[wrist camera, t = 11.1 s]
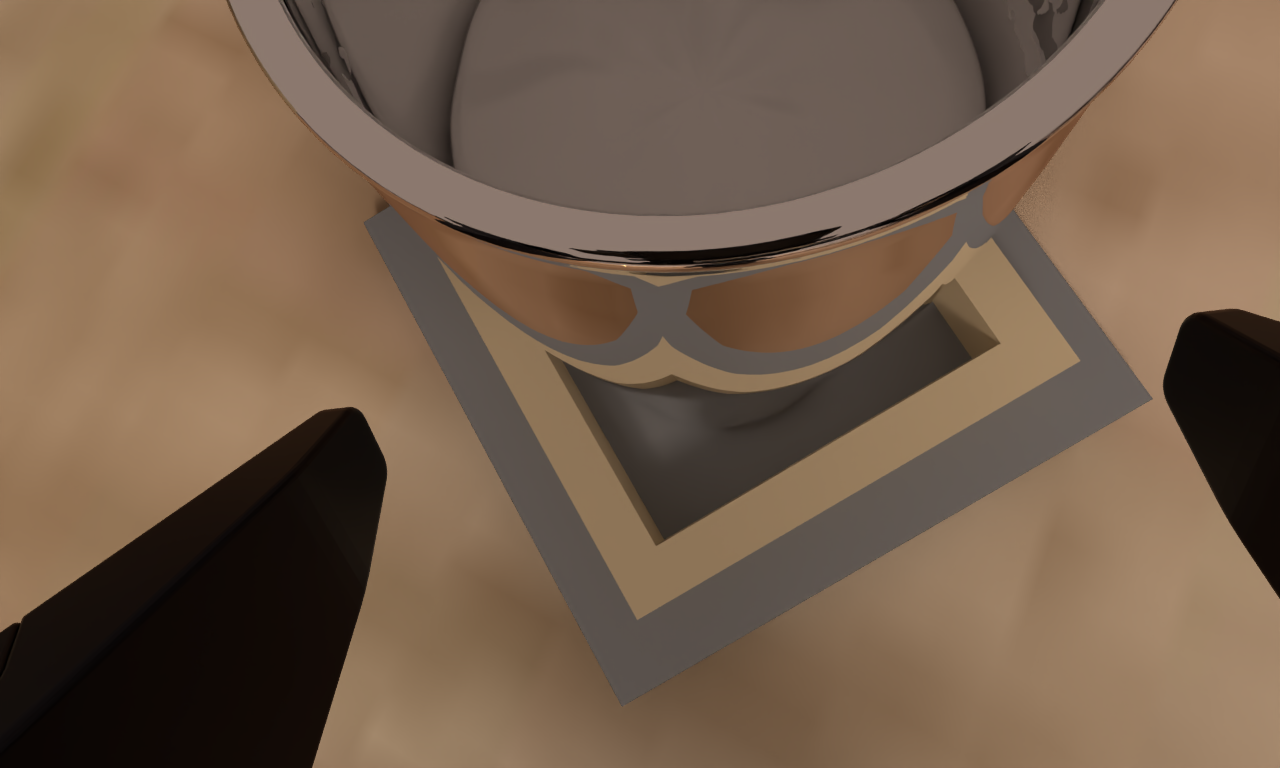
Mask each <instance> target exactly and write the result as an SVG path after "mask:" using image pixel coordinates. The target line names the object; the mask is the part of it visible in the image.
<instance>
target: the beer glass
mask: <svg viewBox="0 0 1280 768" xmlns="http://www.w3.org/2000/svg"><path fill="white" fill-rule="evenodd" d="M226 1H227V4H228V7H229V9H230V11H231V14H232V16H233V18H234V20H235V22H236V25H237V27H238V29H239V31H240V33H241V35H242V37H243V39H244V40H245V42H246V44H247V46H248V48H249V50H250V51H251V53H252V55H253V56H254V58H255V60H256V61H257V63H258V65H259V66H260V68H261V70H262V71H263V72H264V74H265V75H266V77H267V78H268V80H269V81H270V83H271V84H272V86H273V87H274V89H275V90H276V91H277V93H278V94H279V95H280V97H281V98H282V99H283V101H284V102H285V103H286V105H287V106H288V107H289V108H290V109H291V110H292V112H293V113H294V114H295V115H296V116H297V117H298V119H299V120H300V121H301V122H302V123H303V124H304V125H305V126H306V127H307V128H308V130H309V131H310V132H311V133H312V134H313V135H314V136H315V137H316V138H317V139H318V140H319V141H320V142H321V143H322V144H323V145H324V146H325V147H326V148H328V149H329V150H330V151H331V152H332V153H333V154H334V155H335V156H336V157H338V158H339V159H340V160H341V161H342V162H344V163H345V164H346V165H347V166H348V167H349V168H351V169H352V170H353V171H355V172H356V173H357V174H359V175H360V176H361V177H363V178H364V179H365V180H367V181H368V182H369V183H370V184H371V185H372V186H373V188H374V189H375V190H376V191H377V192H378V193H379V194H380V195H381V196H382V198H383V199H384V200H385V201H386V202H387V203H388V204H389V205H390V207H391V208H392V209H393V210H394V211H395V212H396V213H397V214H398V215H399V217H400V218H401V219H402V220H403V221H404V222H405V223H406V224H407V226H408V227H409V228H410V229H411V230H412V231H413V232H414V233H415V234H416V235H417V236H418V237H419V238H420V239H421V240H422V241H423V242H424V243H425V244H426V245H427V247H428V248H429V249H430V250H431V251H432V252H433V253H434V254H435V255H436V256H437V257H438V258H439V259H440V260H441V261H442V262H443V263H444V264H445V265H446V266H447V267H448V268H449V269H450V270H451V271H452V272H453V273H454V274H455V275H456V277H457V278H458V279H459V280H460V281H461V282H462V283H463V284H465V285H466V286H467V287H468V288H469V289H470V290H471V291H472V292H473V293H474V294H475V295H477V296H478V297H479V298H480V299H481V300H482V301H484V302H485V303H486V304H487V305H488V306H490V307H491V308H492V309H493V310H494V311H495V312H497V313H498V314H499V315H500V316H501V317H502V318H504V319H505V320H506V321H507V322H508V323H509V324H511V325H512V326H513V327H514V328H515V329H516V330H518V331H519V332H520V333H521V334H523V335H524V336H525V337H527V338H528V339H529V340H531V341H532V342H534V343H535V344H537V345H538V346H539V347H541V348H542V349H544V350H546V351H547V352H549V353H551V354H552V355H554V356H556V357H557V358H559V359H561V360H563V361H564V362H566V363H568V364H570V365H571V366H573V367H575V368H577V369H578V370H580V371H582V372H584V373H586V374H588V375H589V376H591V377H593V378H596V379H598V380H600V381H602V382H604V383H607V384H609V385H611V386H614V387H617V388H619V389H622V390H625V391H628V392H631V393H635V394H638V395H640V396H641V397H642V398H643V399H644V400H645V401H647V402H648V403H649V404H650V405H652V406H653V407H654V408H656V409H657V410H659V411H660V412H662V413H664V414H666V415H668V416H670V417H672V418H674V419H677V420H679V421H682V422H685V423H688V424H692V425H697V426H702V427H710V428H732V427H740V426H745V425H749V424H753V423H757V422H760V421H763V420H765V419H768V418H770V417H772V416H774V415H776V414H778V413H780V412H782V411H783V410H785V409H787V408H788V407H790V406H791V405H792V404H794V403H795V402H796V401H798V400H799V399H800V398H801V397H802V396H803V395H804V394H805V393H806V392H807V391H808V390H809V389H810V388H811V387H812V386H813V384H814V383H815V382H818V381H820V380H822V379H824V378H826V377H829V376H831V375H833V374H834V373H836V372H838V371H840V370H842V369H844V368H846V367H847V366H849V365H851V364H852V363H854V362H856V361H857V360H859V359H860V358H862V357H863V356H865V355H866V354H868V353H869V352H870V351H872V350H873V349H875V348H876V347H877V346H879V345H880V344H881V343H883V342H884V341H885V340H887V339H888V338H889V337H891V336H892V335H893V334H895V333H896V332H897V331H899V330H900V329H901V328H903V327H904V326H905V325H906V324H908V323H909V322H910V321H911V320H913V319H914V318H915V317H916V316H917V315H918V314H920V313H921V312H922V311H923V310H924V309H925V308H926V307H927V306H928V305H929V304H930V303H931V302H932V301H933V300H934V299H935V298H936V297H937V296H938V295H939V294H940V293H941V292H942V291H943V290H944V289H945V288H946V287H947V286H948V285H949V284H950V282H951V281H952V280H953V279H954V278H955V277H956V276H957V275H958V274H959V273H960V272H961V271H962V270H963V268H964V267H965V266H966V265H967V264H968V263H969V262H970V261H971V260H972V259H973V258H974V257H975V256H976V254H977V253H978V252H979V251H980V250H981V249H982V248H983V247H984V245H985V244H986V243H987V242H988V241H989V239H990V238H991V237H992V236H993V235H994V233H995V232H996V231H997V230H998V228H999V227H1000V226H1001V224H1002V223H1003V222H1004V220H1005V219H1006V218H1007V217H1008V215H1009V214H1010V213H1011V211H1012V210H1013V209H1014V208H1015V206H1016V205H1017V204H1018V202H1019V201H1020V200H1021V198H1022V197H1023V196H1024V195H1025V193H1026V192H1027V191H1028V189H1029V188H1030V187H1031V186H1032V184H1033V183H1034V182H1035V180H1036V179H1037V178H1038V176H1039V175H1040V174H1041V172H1042V171H1043V170H1044V168H1045V167H1046V166H1047V164H1048V163H1049V162H1050V160H1051V159H1052V157H1053V156H1054V154H1055V153H1056V152H1057V150H1058V149H1059V147H1060V146H1061V145H1062V143H1063V142H1064V140H1065V139H1066V138H1067V136H1068V135H1069V133H1070V132H1071V131H1072V129H1073V128H1074V126H1075V125H1076V124H1077V122H1078V121H1079V119H1080V118H1081V117H1082V115H1083V114H1084V112H1085V111H1086V110H1087V108H1088V107H1089V106H1090V104H1091V103H1092V102H1093V101H1094V100H1095V99H1096V98H1097V97H1098V96H1099V95H1100V94H1101V93H1102V92H1103V91H1104V90H1105V89H1107V88H1108V87H1109V86H1110V85H1111V84H1112V83H1113V82H1114V80H1115V79H1116V78H1117V77H1118V76H1119V75H1120V74H1121V73H1122V72H1123V71H1124V70H1125V68H1126V67H1127V66H1128V65H1129V64H1130V63H1131V62H1132V61H1133V60H1134V58H1135V57H1136V56H1137V55H1138V54H1139V52H1140V51H1141V50H1142V49H1143V47H1144V46H1145V45H1146V44H1147V43H1148V41H1149V40H1150V39H1151V38H1152V36H1153V35H1154V34H1155V32H1156V31H1157V30H1158V28H1159V27H1160V25H1161V24H1162V23H1163V21H1164V20H1165V19H1166V17H1167V16H1168V14H1169V13H1170V12H1171V10H1172V9H1173V7H1174V6H1175V4H1176V3H1177V1H1178V0H226Z"/></svg>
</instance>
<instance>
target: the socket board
mask: <svg viewBox="0 0 1280 768" xmlns="http://www.w3.org/2000/svg"><path fill="white" fill-rule="evenodd" d="M364 224H365V226H366V228H367V230H368V232H369V234H370V236H371V238H372V239H373V241H374V243H375V245H376V247H377V249H378V251H379V253H380V254H381V256H382V258H383V260H384V262H385V264H386V266H387V268H388V269H389V271H390V273H391V275H392V277H393V279H394V281H395V282H396V284H397V286H398V288H399V290H400V292H401V294H402V296H403V297H404V299H405V301H406V303H407V305H408V307H409V309H410V311H411V312H412V314H413V316H414V318H415V320H416V322H417V324H418V326H419V327H420V329H421V331H422V333H423V335H424V337H425V339H426V341H427V342H428V344H429V346H430V348H431V350H432V352H433V354H434V356H435V357H436V359H437V361H438V363H439V365H440V367H441V369H442V371H443V372H444V374H445V376H446V378H447V380H448V382H449V384H450V386H451V387H452V389H453V391H454V393H455V395H456V397H457V399H458V400H459V402H460V404H461V406H462V408H463V410H464V412H465V414H466V415H467V417H468V419H469V421H470V423H471V425H472V427H473V429H474V430H475V432H476V434H477V436H478V438H479V440H480V442H481V444H482V445H483V447H484V449H485V451H486V453H487V455H488V457H489V459H490V460H491V462H492V464H493V466H494V468H495V470H496V472H497V474H498V475H499V477H500V479H501V481H502V483H503V485H504V487H505V489H506V490H507V492H508V494H509V496H510V498H511V500H512V502H513V503H514V505H515V507H516V509H517V511H518V513H519V515H520V517H521V518H522V520H523V522H524V524H525V526H526V528H527V530H528V532H529V533H530V535H531V537H532V539H533V541H534V543H535V545H536V547H537V548H538V550H539V552H540V554H541V556H542V558H543V560H544V562H545V563H546V565H547V567H548V569H549V571H550V573H551V575H552V577H553V578H554V580H555V582H556V584H557V586H558V588H559V590H560V592H561V593H562V595H563V597H564V599H565V601H566V603H567V605H568V606H569V608H570V610H571V612H572V614H573V616H574V618H575V620H576V621H577V623H578V625H579V627H580V629H581V631H582V633H583V635H584V636H585V638H586V640H587V642H588V644H589V646H590V648H591V650H592V651H593V653H594V655H595V657H596V659H597V661H598V663H599V665H600V666H601V668H602V670H603V672H604V674H605V676H606V678H607V680H608V681H609V683H610V685H611V687H612V689H613V691H614V693H615V695H616V696H617V698H618V700H619V702H620V704H621V706H624V705H626V704H627V703H629V702H631V701H633V700H634V699H636V698H638V697H639V696H641V695H643V694H645V693H646V692H648V691H650V690H652V689H653V688H655V687H657V686H658V685H660V684H662V683H664V682H665V681H667V680H669V679H671V678H672V677H674V676H676V675H677V674H679V673H681V672H683V671H684V670H686V669H688V668H689V667H691V666H693V665H695V664H696V663H698V662H700V661H702V660H703V659H705V658H707V657H708V656H710V655H712V654H714V653H715V652H717V651H719V650H721V649H722V648H724V647H726V646H727V645H729V644H731V643H733V642H734V641H736V640H738V639H740V638H741V637H743V636H745V635H746V634H748V633H750V632H752V631H753V630H755V629H757V628H758V627H760V626H762V625H764V624H765V623H767V622H769V621H771V620H772V619H774V618H776V617H777V616H779V615H781V614H783V613H784V612H786V611H788V610H790V609H791V608H793V607H795V606H796V605H798V604H800V603H802V602H803V601H805V600H807V599H809V598H810V597H812V596H814V595H815V594H817V593H819V592H821V591H822V590H824V589H826V588H827V587H829V586H831V585H833V584H834V583H836V582H838V581H840V580H841V579H843V578H845V577H846V576H848V575H850V574H852V573H853V572H855V571H857V570H859V569H860V568H862V567H864V566H865V565H867V564H869V563H871V562H872V561H874V560H876V559H877V558H879V557H881V556H883V555H884V554H886V553H888V552H890V551H891V550H893V549H895V548H896V547H898V546H900V545H902V544H903V543H905V542H907V541H909V540H910V539H912V538H914V537H915V536H917V535H919V534H921V533H922V532H924V531H926V530H928V529H929V528H931V527H933V526H934V525H936V524H938V523H940V522H941V521H943V520H945V519H946V518H948V517H950V516H952V515H953V514H955V513H957V512H959V511H960V510H962V509H964V508H965V507H967V506H969V505H971V504H972V503H974V502H976V501H978V500H979V499H981V498H983V497H984V496H986V495H988V494H990V493H991V492H993V491H995V490H997V489H998V488H1000V487H1002V486H1003V485H1005V484H1007V483H1009V482H1010V481H1012V480H1014V479H1015V478H1017V477H1019V476H1021V475H1022V474H1024V473H1026V472H1028V471H1029V470H1031V469H1033V468H1034V467H1036V466H1038V465H1040V464H1041V463H1043V462H1045V461H1047V460H1048V459H1050V458H1052V457H1053V456H1055V455H1057V454H1059V453H1060V452H1062V451H1064V450H1065V449H1067V448H1069V447H1071V446H1072V445H1074V444H1076V443H1078V442H1079V441H1081V440H1083V439H1084V438H1086V437H1088V436H1090V435H1091V434H1093V433H1095V432H1097V431H1098V430H1100V429H1102V428H1103V427H1105V426H1107V425H1109V424H1110V423H1112V422H1114V421H1116V420H1117V419H1119V418H1121V417H1122V416H1124V415H1126V414H1128V413H1129V412H1131V411H1133V410H1134V409H1136V408H1138V407H1140V406H1141V405H1143V404H1145V403H1147V402H1148V401H1150V400H1152V397H1151V396H1150V394H1149V393H1148V392H1147V390H1146V389H1145V388H1144V386H1143V385H1142V384H1141V382H1140V381H1139V380H1138V378H1137V377H1136V375H1135V374H1134V373H1133V371H1132V370H1131V369H1130V367H1129V366H1128V365H1127V363H1126V362H1125V361H1124V359H1123V358H1122V356H1121V355H1120V354H1119V352H1118V351H1117V350H1116V348H1115V347H1114V346H1113V344H1112V343H1111V342H1110V340H1109V339H1108V337H1107V336H1106V335H1105V333H1104V332H1103V331H1102V329H1101V328H1100V327H1099V325H1098V324H1097V323H1096V321H1095V320H1094V318H1093V317H1092V316H1091V314H1090V313H1089V312H1088V310H1087V309H1086V308H1085V306H1084V305H1083V304H1082V302H1081V301H1080V299H1079V298H1078V297H1077V295H1076V294H1075V293H1074V291H1073V290H1072V289H1071V287H1070V286H1069V285H1068V283H1067V282H1066V280H1065V279H1064V278H1063V276H1062V275H1061V274H1060V272H1059V271H1058V270H1057V268H1056V267H1055V266H1054V264H1053V263H1052V261H1051V260H1050V259H1049V257H1048V256H1047V255H1046V253H1045V252H1044V251H1043V249H1042V248H1041V247H1040V245H1039V244H1038V242H1037V241H1036V240H1035V238H1034V237H1033V236H1032V234H1031V233H1030V232H1029V230H1028V229H1027V228H1026V226H1025V225H1024V223H1023V222H1022V221H1021V219H1020V218H1019V217H1018V215H1017V214H1016V213H1015V211H1014V210H1012V211H1011V213H1010V214H1009V215H1008V217H1007V218H1006V219H1005V220H1004V222H1003V223H1002V224H1001V226H1000V227H999V228H998V230H997V231H996V232H995V233H994V235H993V236H992V237H991V238H990V239H989V241H988V242H987V243H986V244H985V245H984V247H983V248H982V249H981V250H980V251H979V252H978V253H977V254H976V256H975V257H974V258H973V259H972V260H971V261H970V262H969V263H968V264H967V265H966V266H965V267H964V268H963V270H962V271H961V272H960V273H959V274H958V275H957V276H956V277H955V278H954V279H953V280H952V281H951V282H950V284H949V285H948V286H947V287H946V288H945V289H944V290H943V291H942V292H941V293H940V294H939V295H938V296H937V297H936V298H935V299H934V300H933V301H932V302H931V303H930V304H929V305H928V306H927V307H926V308H925V309H924V310H923V311H922V312H921V313H920V314H918V315H917V316H916V317H915V318H914V319H913V320H911V321H910V322H909V323H908V324H906V325H905V326H904V327H903V328H901V329H900V330H899V331H897V332H896V333H895V334H893V335H892V336H891V337H889V338H888V339H887V340H885V341H884V342H883V343H881V344H880V345H879V346H877V347H876V348H875V349H873V350H872V351H870V352H869V353H868V354H866V355H865V356H863V357H862V358H860V359H859V360H857V361H856V362H854V363H852V364H851V365H849V366H847V367H846V368H844V369H842V370H840V371H838V372H836V373H834V374H833V375H831V376H829V377H826V378H824V379H822V380H820V381H818V382H815V383H814V384H813V386H812V387H811V388H810V389H809V390H808V391H807V392H806V393H805V394H804V395H803V396H802V397H801V398H800V399H799V400H798V401H796V402H795V403H794V404H792V405H791V406H790V407H788V408H787V409H785V410H783V411H782V412H780V413H778V414H776V415H774V416H772V417H770V418H768V419H765V420H763V421H760V422H757V423H753V424H749V425H745V426H740V427H732V428H710V427H702V426H697V425H692V424H688V423H685V422H682V421H679V420H677V419H674V418H672V417H670V416H668V415H666V414H664V413H662V412H660V411H659V410H657V409H656V408H654V407H653V406H652V405H650V404H649V403H648V402H647V401H645V400H644V399H643V398H642V397H641V396H640V395H638V394H635V393H631V392H628V391H625V390H622V389H619V388H617V387H614V386H611V385H609V384H607V383H604V382H602V381H600V380H598V379H596V378H593V377H591V376H589V375H588V374H586V373H584V372H582V371H580V370H578V369H577V368H575V367H573V366H571V365H570V364H568V363H566V362H564V361H563V360H561V359H559V358H557V357H556V356H554V355H552V354H551V353H549V352H547V351H546V350H544V349H542V348H541V347H539V346H538V345H537V344H535V343H534V342H532V341H531V340H529V339H528V338H527V337H525V336H524V335H523V334H521V333H520V332H519V331H518V330H516V329H515V328H514V327H513V326H512V325H511V324H509V323H508V322H507V321H506V320H505V319H504V318H502V317H501V316H500V315H499V314H498V313H497V312H495V311H494V310H493V309H492V308H491V307H490V306H488V305H487V304H486V303H485V302H484V301H482V300H481V299H480V298H479V297H478V296H477V295H475V294H474V293H473V292H472V291H471V290H470V289H469V288H468V287H467V286H466V285H465V284H463V283H462V282H461V281H460V280H459V279H458V278H457V277H456V275H455V274H454V273H453V272H452V271H451V270H450V269H449V268H448V267H447V266H446V265H445V264H444V263H443V262H442V261H441V260H440V259H439V258H438V257H437V256H436V255H435V254H434V253H433V252H432V251H431V250H430V249H429V248H428V247H427V245H426V244H425V243H424V242H423V241H422V240H421V239H420V238H419V237H418V236H417V235H416V234H415V233H414V232H413V231H412V230H411V229H410V228H409V227H408V226H407V224H406V223H405V222H404V221H403V220H402V219H401V218H400V217H399V215H398V214H397V213H396V212H395V211H394V210H393V209H392V208H391V207H390V206H389V207H388V208H386V209H385V210H383V211H381V212H380V213H378V214H376V215H375V216H373V217H372V218H370V219H368V220H367V221H365V222H364Z"/></svg>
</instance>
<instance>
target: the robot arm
mask: <svg viewBox="0 0 1280 768" xmlns="http://www.w3.org/2000/svg"><path fill="white" fill-rule="evenodd" d="M1163 390H1164V395H1165V399H1166V401H1167V404H1168V406H1169V408H1170V410H1171V411H1172V413H1173V415H1174V417H1175V419H1176V421H1177V423H1178V425H1179V427H1180V429H1181V431H1182V433H1183V435H1184V437H1185V439H1186V441H1187V443H1188V445H1189V447H1190V449H1191V450H1192V452H1193V454H1194V456H1195V458H1196V460H1197V462H1198V464H1199V466H1200V468H1201V470H1202V472H1203V474H1204V476H1205V478H1206V480H1207V482H1208V484H1209V486H1210V488H1211V490H1212V491H1213V493H1214V495H1215V497H1216V499H1217V501H1218V503H1219V505H1220V507H1221V508H1222V510H1223V512H1224V514H1225V515H1226V517H1227V519H1228V521H1229V523H1230V524H1231V526H1232V527H1233V529H1234V530H1235V532H1236V534H1237V535H1238V537H1239V538H1240V540H1241V542H1242V543H1243V545H1244V546H1245V548H1246V549H1247V551H1248V552H1249V554H1250V555H1251V557H1252V558H1253V560H1254V561H1255V563H1256V564H1257V566H1258V567H1259V569H1260V570H1261V572H1262V573H1263V575H1264V576H1265V578H1266V579H1267V581H1268V582H1269V584H1270V585H1271V587H1272V588H1273V590H1274V591H1275V593H1276V594H1277V596H1278V597H1279V598H1280V322H1279V321H1276V320H1273V319H1269V318H1266V317H1263V316H1260V315H1257V314H1253V313H1250V312H1247V311H1244V310H1240V309H1223V310H1215V311H1206V312H1197V313H1194V314H1192V315H1190V316H1188V317H1187V318H1186V319H1185V320H1184V322H1183V323H1182V325H1181V327H1180V330H1179V333H1178V336H1177V339H1176V342H1175V345H1174V348H1173V351H1172V354H1171V357H1170V360H1169V363H1168V366H1167V369H1166V372H1165V375H1164V380H1163ZM386 480H387V466H386V462H385V458H384V456H383V454H382V452H381V450H380V447H379V445H378V443H377V441H376V439H375V437H374V435H373V433H372V431H371V429H370V427H369V425H368V423H367V421H366V419H365V417H364V415H363V414H362V413H361V412H360V411H359V410H358V409H356V408H354V407H346V408H337V409H328V410H323V411H320V412H318V413H316V414H315V415H314V416H312V417H311V418H309V419H308V420H306V421H305V422H303V423H302V424H301V425H299V426H298V427H296V428H295V429H293V430H292V431H290V432H289V433H288V434H286V435H285V436H283V437H282V438H280V439H279V440H278V441H276V442H275V443H273V444H272V445H270V446H269V447H267V448H266V449H265V450H263V451H262V452H260V453H259V454H257V455H256V456H254V457H253V458H252V459H250V460H249V461H247V462H246V463H244V464H243V465H241V466H240V467H239V468H237V469H236V470H234V471H233V472H231V473H230V474H228V475H227V476H226V477H224V478H223V479H221V480H220V481H218V482H217V483H215V484H214V485H213V486H211V487H210V488H208V489H207V490H205V491H204V492H203V493H201V494H200V495H198V496H197V497H195V498H194V499H192V500H191V501H190V502H188V503H187V504H185V505H184V506H182V507H181V508H179V509H178V510H177V511H175V512H174V513H172V514H171V515H169V516H168V517H166V518H165V519H164V520H162V521H161V522H159V523H158V524H156V525H155V526H153V527H152V528H151V529H149V530H148V531H146V532H145V533H143V534H142V535H141V536H139V537H138V538H136V539H135V540H133V541H132V542H130V543H129V544H128V545H126V546H125V547H123V548H122V549H120V550H119V551H117V552H116V553H115V554H113V555H112V556H110V557H109V558H107V559H106V560H104V561H103V562H102V563H100V564H99V565H97V566H96V567H94V568H93V569H91V570H90V571H89V572H87V573H86V574H84V575H83V576H81V577H80V578H79V579H77V580H76V581H74V582H73V583H71V584H70V585H68V586H67V587H66V588H64V589H63V590H61V591H60V592H58V593H57V594H55V595H54V596H53V597H51V598H50V599H48V600H47V601H45V602H44V603H42V604H41V605H40V606H38V607H37V608H35V609H34V610H32V611H31V612H29V613H28V614H27V615H25V616H24V617H23V618H22V621H21V623H14V624H12V625H10V626H9V627H7V628H6V629H5V630H3V631H2V632H0V768H312V766H313V763H314V760H315V756H316V753H317V750H318V747H319V743H320V740H321V737H322V734H323V730H324V727H325V724H326V720H327V717H328V714H329V711H330V707H331V704H332V701H333V697H334V694H335V691H336V688H337V684H338V681H339V678H340V674H341V671H342V668H343V665H344V661H345V658H346V655H347V651H348V648H349V645H350V642H351V638H352V635H353V632H354V628H355V625H356V622H357V619H358V615H359V612H360V609H361V605H362V601H363V598H364V594H365V590H366V586H367V581H368V577H369V572H370V567H371V561H372V556H373V551H374V545H375V540H376V534H377V529H378V523H379V518H380V513H381V507H382V502H383V496H384V491H385V486H386Z"/></svg>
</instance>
